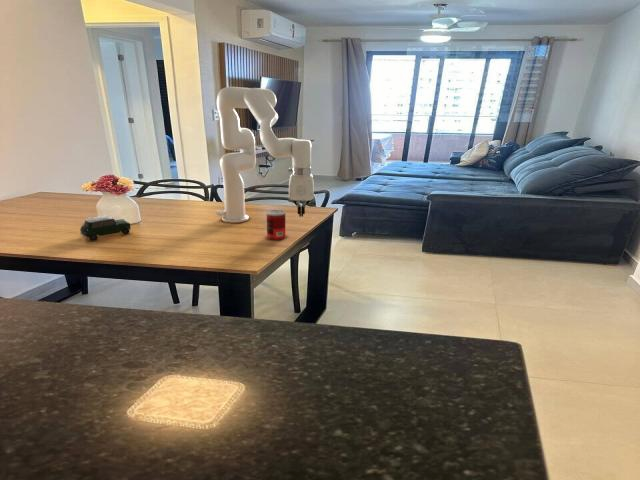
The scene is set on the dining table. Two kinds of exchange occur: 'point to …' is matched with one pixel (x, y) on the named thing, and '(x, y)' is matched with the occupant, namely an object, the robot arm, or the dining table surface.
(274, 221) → the canned food
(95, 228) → the miniature car
